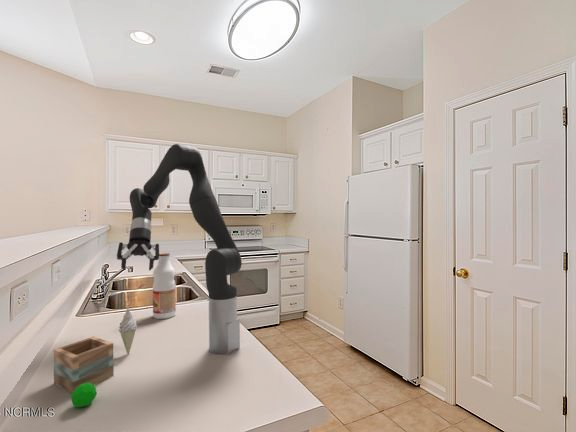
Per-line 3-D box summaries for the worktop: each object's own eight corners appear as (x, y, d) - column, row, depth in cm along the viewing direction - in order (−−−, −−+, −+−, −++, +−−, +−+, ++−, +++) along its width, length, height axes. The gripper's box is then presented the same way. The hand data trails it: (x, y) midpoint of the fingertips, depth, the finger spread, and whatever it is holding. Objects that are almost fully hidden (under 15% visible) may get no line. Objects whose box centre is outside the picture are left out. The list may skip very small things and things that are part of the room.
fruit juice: (170, 319, 130) (169, 254, 130) (148, 319, 130) (148, 254, 130) (179, 312, 139) (178, 251, 139) (159, 312, 139) (158, 252, 140)
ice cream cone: (118, 359, 93) (118, 310, 93) (119, 352, 98) (119, 306, 98) (137, 355, 96) (136, 308, 96) (136, 349, 100) (136, 304, 100)
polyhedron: (89, 411, 68) (88, 390, 68) (66, 412, 68) (65, 391, 68) (101, 398, 73) (100, 378, 73) (79, 399, 73) (79, 379, 73)
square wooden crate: (113, 375, 84) (113, 343, 84) (73, 394, 75) (73, 357, 75) (93, 367, 88) (93, 336, 89) (53, 383, 80) (53, 349, 80)
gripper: (120, 225, 114) (114, 264, 105) (160, 227, 120) (159, 265, 111) (120, 235, 119) (115, 273, 110) (159, 237, 125) (157, 273, 117)
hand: (137, 269), depth 111 cm, fingers open, 8 cm apart
